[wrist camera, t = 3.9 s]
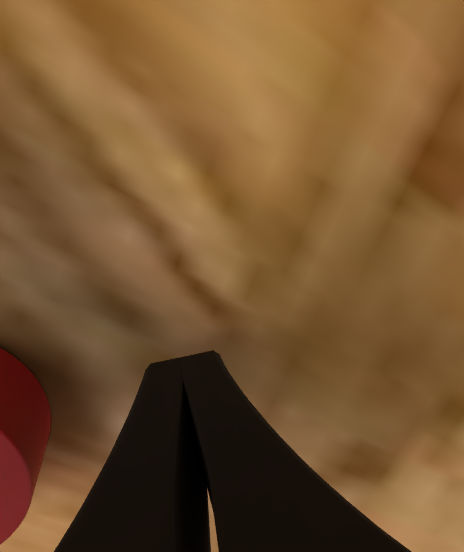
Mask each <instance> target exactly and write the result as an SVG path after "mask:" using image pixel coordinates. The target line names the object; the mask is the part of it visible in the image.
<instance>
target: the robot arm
mask: <svg viewBox="0 0 464 552" xmlns="http://www.w3.org/2000/svg"><path fill="white" fill-rule="evenodd" d="M207 488H208V492H209V496H210V500H211V504H212V508H213V512H214V518H215V526H216V533H217V541H218V548H219V552H411V551H410V550H409V549H407V548H406V547H405V546H403V545H402V544H401V543H399V542H398V541H397V540H395V539H394V538H393V537H391V536H390V535H389V534H387V533H386V532H385V531H383V530H382V529H381V528H379V527H378V526H377V525H376V524H374V523H373V522H372V521H371V520H370V519H368V518H367V517H366V516H365V515H364V514H362V513H361V512H360V511H359V510H358V509H356V508H355V507H354V506H353V505H352V504H350V503H349V502H348V501H347V500H346V499H345V498H343V497H342V496H341V495H340V494H339V493H338V492H337V491H336V490H334V489H333V488H332V487H331V486H330V485H329V484H328V483H327V482H326V481H324V480H323V479H322V478H321V477H320V476H319V475H318V474H317V473H316V472H315V471H314V470H313V469H312V468H311V467H309V466H308V465H307V464H306V463H305V462H304V461H303V460H302V459H301V458H300V457H299V456H298V455H297V454H296V453H295V452H294V451H293V449H292V448H291V447H290V446H289V445H288V444H287V443H286V442H285V441H284V440H283V439H282V438H281V437H280V436H279V435H278V434H277V433H276V431H275V430H274V429H273V428H272V427H271V426H270V425H269V424H268V423H267V421H266V420H265V419H264V418H263V417H262V415H261V414H260V413H259V412H258V411H257V409H256V408H255V407H254V406H253V405H252V403H251V402H250V401H249V400H248V398H247V397H246V396H245V395H244V393H243V392H242V391H241V389H240V388H239V386H238V385H237V384H236V382H235V381H234V379H233V378H232V376H231V375H230V373H229V372H228V370H227V368H226V367H225V365H224V363H223V361H222V359H221V357H220V355H219V354H218V353H216V352H215V351H208V352H204V353H199V354H194V355H189V356H185V357H180V358H175V359H170V360H166V361H161V362H156V363H151V364H150V365H149V366H148V367H147V369H146V370H145V373H144V376H143V379H142V382H141V385H140V388H139V390H138V393H137V395H136V398H135V400H134V403H133V405H132V407H131V410H130V412H129V415H128V417H127V419H126V421H125V423H124V425H123V428H122V430H121V432H120V434H119V436H118V438H117V440H116V443H115V445H114V447H113V449H112V451H111V453H110V455H109V457H108V459H107V461H106V463H105V464H104V466H103V468H102V470H101V472H100V474H99V476H98V477H97V479H96V481H95V483H94V485H93V487H92V489H91V490H90V492H89V494H88V496H87V498H86V500H85V501H84V503H83V505H82V507H81V508H80V510H79V512H78V513H77V515H76V517H75V518H74V520H73V522H72V523H71V525H70V527H69V528H68V530H67V532H66V533H65V535H64V537H63V538H62V540H61V541H60V543H59V544H58V546H57V548H56V549H55V551H54V552H211V546H210V528H209V511H208V494H207Z"/></svg>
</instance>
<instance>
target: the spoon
mask: <svg viewBox="0 0 464 552" xmlns="http://www.w3.org/2000/svg"><path fill="white" fill-rule="evenodd" d="M50 429H51V413H50V407H49V403H48V400H47V397H46V395H45V393H44V391H43V389H42V387H41V385H40V383H39V382H38V381H37V379H36V378H35V376H34V375H33V374H32V373H31V372H30V371H29V370H28V369H27V367H26V366H25V365H24V364H22V363H21V362H20V361H19V360H18V359H16V358H15V357H14V356H12V355H11V354H9V353H8V352H6V351H5V350H3V349H2V348H0V544H2V543H3V542H4V541H5V540H6V539H7V538H9V537H10V536H11V535H12V533H13V532H14V531H15V530H16V529H17V528H18V527H19V525H20V524H21V522H22V521H23V519H24V518H25V516H26V514H27V511H28V509H29V507H30V504H31V500H32V496H33V493H34V489H35V485H36V482H37V478H38V474H39V471H40V467H41V463H42V460H43V456H44V453H45V449H46V445H47V442H48V438H49V433H50Z"/></svg>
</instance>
